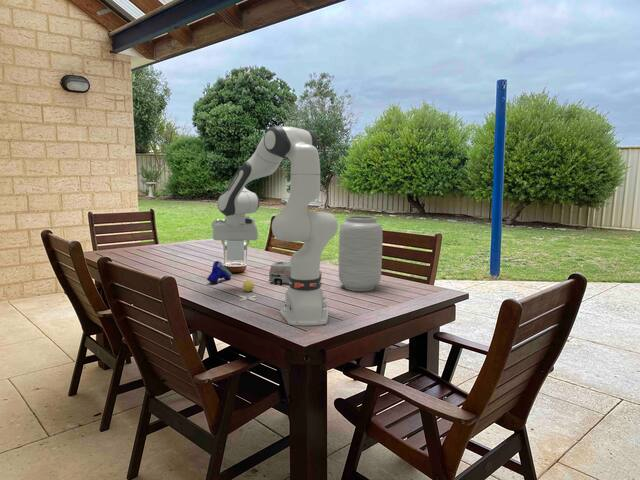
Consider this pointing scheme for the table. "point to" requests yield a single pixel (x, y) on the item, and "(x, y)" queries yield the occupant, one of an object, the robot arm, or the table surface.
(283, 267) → the toy car
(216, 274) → the toy gun
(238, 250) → the grey block
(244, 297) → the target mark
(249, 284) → the ball
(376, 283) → the vase
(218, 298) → the table surface
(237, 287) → the table surface
